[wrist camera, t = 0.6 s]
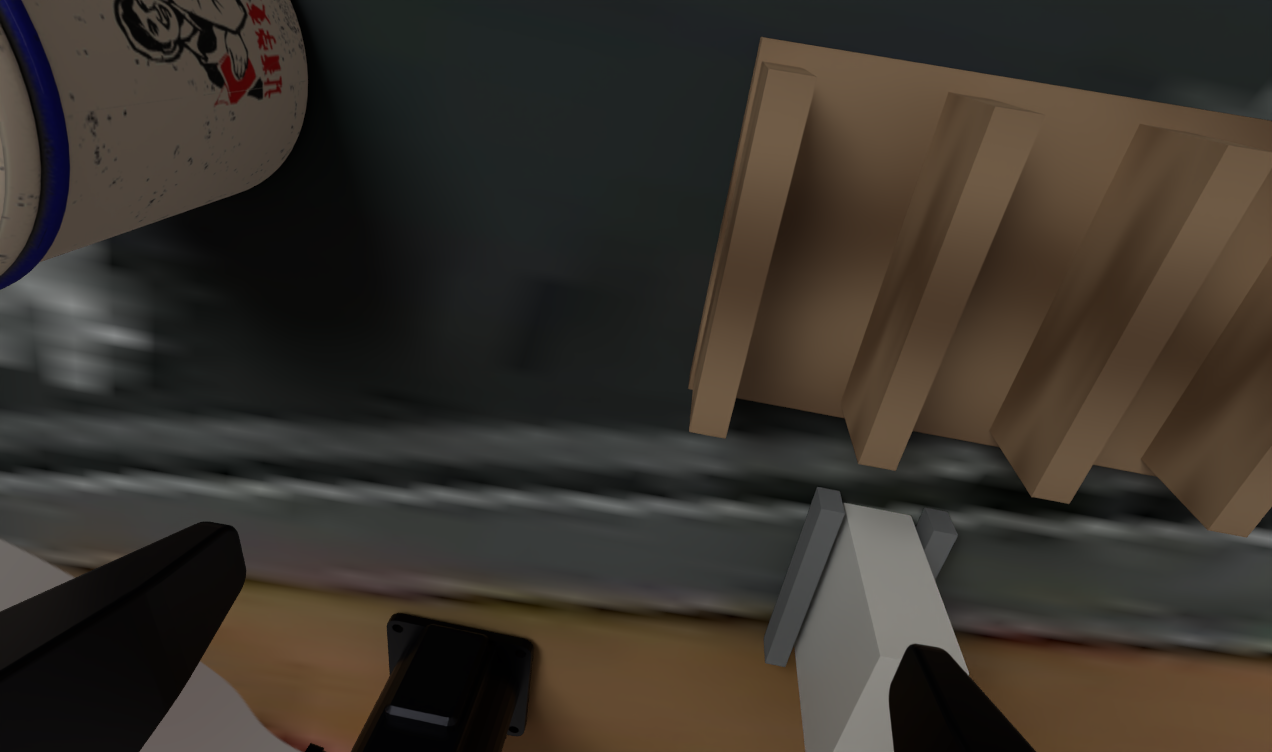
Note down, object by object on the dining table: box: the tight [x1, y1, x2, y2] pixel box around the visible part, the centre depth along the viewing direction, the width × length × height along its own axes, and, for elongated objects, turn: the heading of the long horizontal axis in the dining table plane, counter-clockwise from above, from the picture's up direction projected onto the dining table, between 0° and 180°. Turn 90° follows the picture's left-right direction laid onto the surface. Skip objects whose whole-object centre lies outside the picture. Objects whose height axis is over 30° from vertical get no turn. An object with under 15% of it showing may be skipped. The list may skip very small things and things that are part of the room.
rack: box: [688, 37, 1272, 537], centre depth 17 cm, size 10×15×4 cm, turn 82°
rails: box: [764, 487, 958, 667], centre depth 24 cm, size 8×5×1 cm, turn 172°
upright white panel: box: [794, 503, 969, 752], centre depth 22 cm, size 7×2×6 cm, turn 172°
